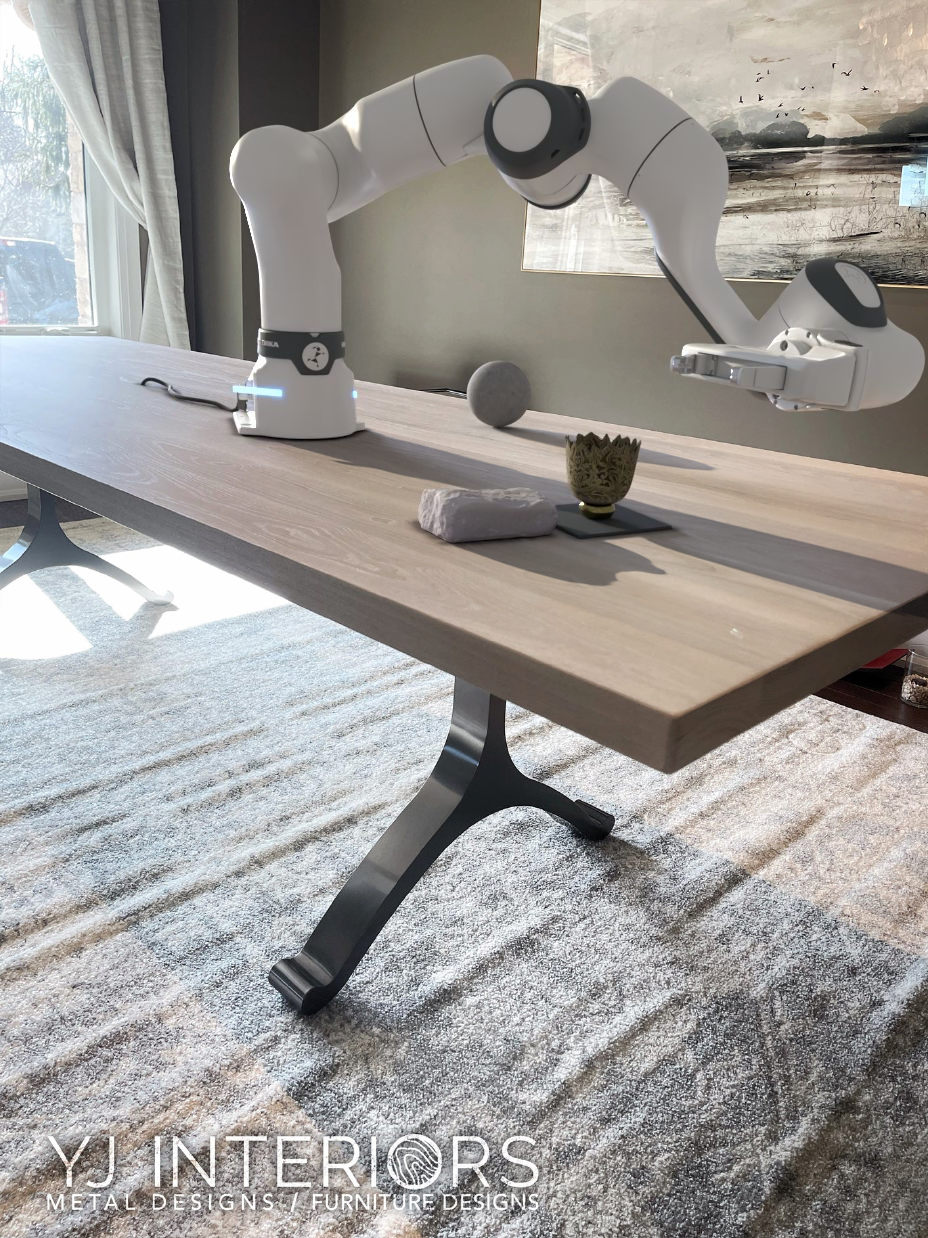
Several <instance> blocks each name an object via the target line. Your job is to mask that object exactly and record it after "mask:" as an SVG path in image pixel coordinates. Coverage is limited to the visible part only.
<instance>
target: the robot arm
mask: <svg viewBox="0 0 928 1238" xmlns="http://www.w3.org/2000/svg"><path fill="white" fill-rule="evenodd" d="M477 156H488V157H489V159H490V161H491V163H492V164H493V165H494V167H496V169H497V170H498V172H499V174H500V176H501V177H502V178H503V180H504V181H505V182H506V184H507V185H508V186H509V187H510V188H511V189H513V191H515V192H517V193H518V195H520V197H522V198H523V199H524V200H525V201H526V202H527V203H528V204H530V205H532V206H534V207H535V208H538V209H542V210H545V211H558V210H562V209H565V208H568V207H570V206H571V205H573V204H575V203H576V202H578V200H580V198H582V196H583V195H584V193H585V192H586V190H587V189H588V187H589V185H590V183H591V180H592V177H593V175H595V176H598V177H600V178H602V179H605V180H606V181H608V182H609V183H611V184H612V185H613V186H615V188H617V189H618V191H619V192H620V193H622V195H623V196H625V198H626V199H627V200H629V202H631V203H632V205H634V206H635V208H636V209H637V210H638V211H639V213H640V215H641V216H642V218H643V220H644V221H645V224H646V226H647V227H648V229H649V232H650V234H651V238H652V240H653V241H652V242H653V243H654V246H653V248H654V249H653V254H654V259H655V262H656V263H657V265H658V267H659V270H660V271H661V272H662V274H663V275H664V276H665V278H666V280H667V281H668V282H669V284H670V285H671V287H672V288H673V289H674V290H675V293H677V294H678V296H679V297H680V298H681V300H682V302H683V303H684V304H685V305H686V306H687V308H688V309H689V310H690V312H691V313H692V315H693V316H694V317H695V318H696V320H697V321H698V322H699V323H700V325H701V326H702V327H703V329H704V330H705V331H706V332H707V334H708V336H710V338H711V339H712V340H713V342H714V343H697V342H695V343H694V342H693V343H687V344H685V345H684V346H683V348H682V351H681V355H673V356H671V358H670V362H669V363H670V364H669V371H670V373H672V374H677V375H681V376H682V377H685V378H688V379H694V380H699V381H704V382H710V383H714V384H718V385H719V384H720V385H724V386H730V387H734V388H739V389H743V390H745V391H746V392H747V393H748V394H749V395H751V396H752V397H754V398H756V399H757V400H760V401H764V402H769V403H772V405H774V406H775V407H776V408H777V409H779V410H781V411H784V412H790V413H792V412H819V411H829V410H831V411H839V412H857V411H860V410H868V409H869V410H870V409H876V408H880V407H887V406H890V405H892V404H895V403H898V402H900V401H901V400H903V399H905V398H906V397H907V396H908V395H910V393H911V392H912V391H913V390H914V389H915V388H916V387H917V385H918V383H919V382H920V380H921V379H922V378H921V377H922V375H923V372H924V369H925V362H926V355H925V349H924V347H923V345H922V343H921V342H920V341H919V340H918V338H917V337H916V336H914V335H913V334H911V333H910V332H907V331H905V330H904V329H902V328H900V327H899V326H897V325H896V324H894V323H893V322H892V321H891V320H890V319H889V317H888V314H887V310H886V305H885V301H884V297H883V293H882V291H881V289H880V286H879V285H878V283H877V281H876V280H875V278H874V277H873V275H872V274H871V273H870V272H869V271H868V270H867V268H864V267H863V266H861V265H860V264H858V263H856V262H853V261H851V260H847V259H843V258H836V257H819V258H816V259H812V260H809V261H808V262H807V263H806V265H804V266H803V268H801V269H800V271H799V272H798V273H797V274H796V275H795V277H794V278H793V279H792V280H791V281H790V283H789V284H788V285H787V286H786V287H785V289H784V290H783V291H782V292H781V293H780V294H779V297H778V298H777V299H776V300H775V301H774V303H773V304H772V305H771V306H770V308H769V309H768V310H767V311H766V312H765V313H764V315H762V317H761V318H760V319H759V320H758V319H757V318H755V317H754V315H753V314H752V312H751V311H750V310H749V308H747V307H748V306H746V305H745V303H744V302H743V301H742V300H741V298H740V297H739V295H738V294H737V293H736V292H735V291H734V289H733V288H732V287H731V285H730V284H729V282H728V281H727V280H726V278H725V277H724V276H723V275H722V273H721V270H720V269H719V266H718V262H717V257H716V256H717V255H716V246H717V238H718V237H717V236H718V232H719V227H720V223H721V219H722V215H723V213H724V208H725V205H726V203H727V197H728V193H729V184H730V183H729V180H730V177H729V176H730V174H729V164H728V160H727V155H726V153H725V151H724V149H723V148H722V147H721V145H720V143H719V142H718V141H717V140H716V139H715V138H714V136H713V135H712V134H711V133H710V132H709V130H707V129H706V128H705V127H704V126H703V125H701V123H700V122H698V121H697V120H696V119H695V118H694V117H693V116H692V115H690V114H689V113H688V112H687V111H686V110H685V109H684V108H682V107H681V106H680V105H679V104H677V103H676V102H674V101H673V100H672V99H670V98H669V97H668V96H666V95H665V94H664V93H662V92H660V91H659V90H657V89H655V88H654V87H652V86H651V85H649V84H647V83H646V82H644V81H642V80H641V79H639V78H635V77H633V76H619V77H616V78H614V79H612V80H610V81H608V82H607V83H605V84H604V85H602V86H601V87H600V88H599V89H598V90H597V91H596V92H595V93H594V94H593V96H592V97H591V98H589V99H587V97H586V96H585V94H584V92H583V91H582V89H580V88H578V87H576V86H570V85H562V84H556V83H553V82H551V81H550V82H549V81H546V80H542V79H536V78H520V79H516V80H514V78H513V76H512V74H511V72H510V70H509V69H508V68H507V66H506V65H505V64H504V63H503V62H502V61H501V60H500V59H498V58H497V57H495V56H493V55H490V54H478V55H477V54H476V55H472V56H468V57H463V58H460V59H455V60H451V61H448V62H444V63H442V64H439V65H436V66H433V67H431V68H427V69H425V70H423V71H421V72H418V73H415V74H413V75H411V76H409V77H407V78H405V79H403V80H400V81H398V82H396V83H393V84H391V85H389V86H387V87H385V88H382V89H380V90H378V91H375V92H373V93H371V94H369V95H367V96H364V97H362V98H360V99H359V100H358V101H356V103H355V104H354V106H353V107H351V109H350V110H349V111H347V112H346V113H344V114H343V115H341V116H340V117H339V118H338V119H335V121H333V122H332V123H330V124H329V125H326V126H325V127H323V128H320V129H317V130H314V131H301V130H299V129H296V128H293V127H290V126H287V125H282V124H273V125H266V126H261V127H258V128H253V129H251V130H249V131H248V132H246V133H244V134H243V135H242V136H241V137H240V138H239V139H238V141H237V142H236V144H235V146H234V148H233V149H232V152H231V156H230V162H229V173H230V180H231V183H232V186H233V188H234V190H235V192H236V194H237V195H238V197H239V198H240V201H241V202H242V204H243V206H244V209H245V214H246V217H247V222H248V225H249V229H250V233H251V237H252V243H253V246H254V250H255V254H256V260H257V265H258V266H257V267H258V275H259V294H260V295H259V296H260V319H261V322H260V323H261V328H259V329H258V336H257V351H256V352H257V354H258V359H257V361H256V363H255V365H254V367H253V369H252V371H251V373H250V375H249V377H248V379H245V380H244V383H238V384H237V385H232V392H233V393H236V399H237V401H236V405H235V406H234V407H228V406H227V405H224V404H223V403H221V402H218V401H216V400H213V399H207V398H200V397H193V396H187V395H183V394H180V393H177V392H175V391H174V390H173V389H174V387H173V385H172V384H170V383H168V382H166V381H164V380H161V379H159V378H156V377H153V376H148V377H145V378H143V380H142V381H141V382H140V386H145V385H146V384H147V382H153V383H157V384H159V385H161V386H163V387H165V388H167V391H168V393H169V394H170V395H171V396H172V397H174V398H176V399H179V400H182V401H187V402H192V403H193V402H194V403H198V404H206V405H211V406H215V407H217V408H219V409H222V410H224V411H228V412H233V418H232V419H233V421H234V424H235V427H236V430H237V432H238V434H240V435H248V436H249V435H250V436H263V437H264V436H265V437H271V438H281V439H297V440H299V439H303V440H304V439H307V440H309V439H311V440H312V439H314V440H315V439H331V438H339V437H344V436H349V435H351V434H353V433H355V432H358V431H364V430H366V423H365V421H364V420H358V419H357V417H358V416H357V404H356V403H357V401H356V399H357V398H358V391H356V385H355V375H354V372H353V371H352V370H351V369H350V368H349V367H348V366H347V365H346V363H345V361H344V359H343V358H345V356H346V345H347V344H346V343H347V342H346V339H345V332H344V331H343V329H342V271H341V268H340V265H339V264H338V261H337V258H336V255H335V251H334V248H333V242H332V237H331V232H330V226H329V224H331V223H333V222H336V221H338V220H340V219H341V218H343V217H345V216H348V215H349V214H351V213H353V212H355V211H357V210H359V209H361V208H363V207H364V206H366V205H368V204H370V203H372V202H373V201H375V200H377V199H379V198H380V197H381V196H383V195H385V194H387V193H389V192H391V191H393V190H395V189H397V188H399V187H401V186H404V185H406V184H409V183H411V182H414V181H417V180H418V179H421V178H423V177H427V176H428V175H431V174H434V173H436V172H439V171H441V170H443V169H445V168H447V167H450V166H453V165H455V164H457V163H459V162H462V161H464V160H467V159H470V158H473V157H477Z"/></svg>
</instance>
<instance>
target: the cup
mask: <svg viewBox="0 0 928 1238" xmlns="http://www.w3.org/2000/svg"><path fill="white" fill-rule="evenodd" d="M564 438H565V439H564V440H565V464H566V467H565V468H566V480H567V485H568V488H569V491H570V492H571V494H572V495H573V497H574V498H576V499H577V500H579V501H580V502H579V503H580V505H579V511H580V514H581V515H582V516H584V517H586V518H590V519H608V518H610V517H612V516H613V514H614V512H615V506H614V504H613V503H615V504H617V503H618V502H620V501H622V500H623V499H624V498H625V497H626V496H627V495H628V493H629V492H630V489H631V487H632V484H633V480H634V476H635V472H636V469H637V463H638V460H639V454H640V449H641V445H642V440H641V439H639V441H638V440H637V438H636V437H635V438H633V439H632V441H631V439H630V438H631V437H629V436H625V437H622V435H621V433H620V434H618V435H616V437H615V438H614V439H612V441H611V438H610V436H609V434H608V433H606V432H605V435H604V436H603V438H601V437H600V436H599V435H597V434H595V433H594V432H593V431H589V432H588V433H586V434H585V435H584V434H581V433H579V432H578V433H577V434H576V439H575V440H573V441H572V440H571V439H570V435H564Z"/></svg>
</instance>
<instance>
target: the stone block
mask: <svg viewBox="0 0 928 1238" xmlns="http://www.w3.org/2000/svg"><path fill="white" fill-rule="evenodd" d="M555 505H556V504H555V503H554V502H552V501H551V500H550V499H549V498H548V497H546V496H544V495H543V494H542V493H541V492H539V491H537V490H535V489H532V488H531V487H529V488H527V487H522V486H521V487H519V486H518V487H498V488H497V487H496V488H484V489H483V488H482V489H476V490H475V489H461V488H444V487H443V488H434V489H429V488H425V489H424V490H423V491H422V493H421V496H420V502H419V505H418V511H417V512H418V522H419V524H420V527H421V529H422V530H425V531H427V532H429V533H432V534H433V535H435V536H436V537H437V538H440V539H442V540H444V542H447V543H465V542H466V543H467V542H475V541H476V542H477V541H484V540H485V541H487V540H497V539H512V538H519V537H523V538H529V537H538V536H539V537H540V536H544V535H551V534H552V533H553V531H554V530H555V528H557V527H556V525H557V521H558V512H557V509H556V506H555Z"/></svg>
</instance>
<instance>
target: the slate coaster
mask: <svg viewBox="0 0 928 1238" xmlns="http://www.w3.org/2000/svg"><path fill="white" fill-rule="evenodd" d="M580 503H581V502H578V503H577V502H576V503H565V504H554V505H555V506H556V509H557V512H558V521H557V525H556V527H555V528H556V529H559V530H561V531H562V532H565V533H567V534H570V535H571V536H573V537H576V538H578V539H587V538H597V537H606V536H607V537H608V536H616V535H625V534H634V533H643V532H653V531H661V530H663V531H664V530H672V529H673V525H671V524H668V523H666V522H664V521H661V520H659V519H656V518H653V517H651V516H649V515H645V514H643V513H640V512H638V511H636V510H632V509H630V508H628V507H625V506H623V505H620V504H618V503H613V504H614V506H615V512H614V514H613V516H612V517H610V518H608V519H590V518H586V517H584V516H582V515H581V514H580V511H579V505H580Z"/></svg>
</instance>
